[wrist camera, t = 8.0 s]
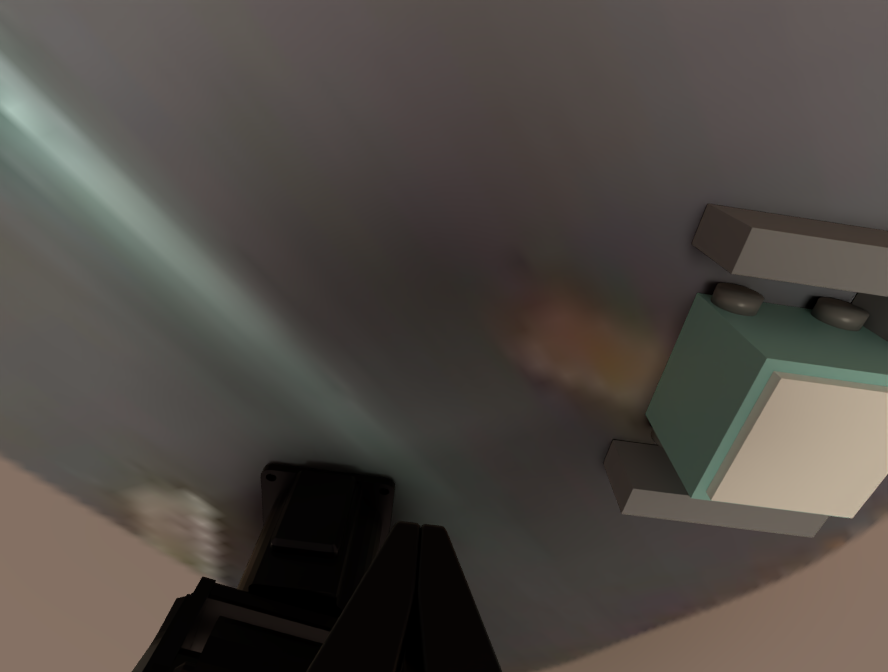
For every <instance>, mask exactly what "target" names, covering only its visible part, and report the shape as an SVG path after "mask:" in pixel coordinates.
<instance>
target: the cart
mask: <svg viewBox="0 0 888 672" xmlns="http://www.w3.org/2000/svg"><path fill="white" fill-rule="evenodd" d="M763 300H764V297H763V296H762V295H761V294H759V293H758V292H756V291H754V290H751V289H749V288H746V287H743V286H740V285H736V284H731V283H718V284H717V286H716V288H715V290H714V293H713V295H709V294H702V293H697V294H696V297H695V299H694V301H693V304H692V306H691V308H690V311H689V313H688V315H687V318H686V320H685V322H684V325H683V327H682V329H681V332H680V334H679V336H678V339H677V341H676V343H675V346H674V348H673V350H672V353H671V355H670V357H669V360H668V362H667V364H666V367H665V369H664V371H663V374H662V376H661V378H660V381H659V383H658V385H657V388H656V390H655V392H654V395H653V397H652V399H651V402H650V404H649V406H648V409H647V411H646V413H645V415H646V416H647V418H648V420H649V422H650V424H651V426H652V428H653V429H652V431H651V437H652V439H653V440H654V442H655V443H656V444H658V445H659V446H660V447H662V448H664V450H665V452H666V453H667V455H668V457H669V459H670V461H671V463H672V465H673V466H674V468H675V470H676V472H677V474H678V476H679V477H680V479H681V481H682V483H683V485H684V487H685V489H686V490H687V492H688V494H689V496H690V498H693V499H701V500H709V501H717V502H725V503H733V504H741V505H749V506H757V507H765V508H773V509H781V510H789V511H797V512H805V513H813V514H821V515H829V516H837V517H845V518H853V517H854V516H855V514H856V513H857V512H858V510H859V509H860V508H861V507H862V505H863V504H864V503H865V502H866V500H867V499H868V498H869V497H870V495H871V494H872V493H873V492H874V490H875V489H876V488H877V487H878V485H879V484H880V483H881V482H882V480H883V479H884V478H885V477H886V475H887V474H888V342H887V341H886V340H884V339H883V338H881V337H879V336H878V335H876V334H875V333H873V332H872V331H870V330H868V329H867V328H865V327H864V326H863V325H864V323H865V321H866V320H867V318H868V317H869V313H868V312H867V311H866V310H864V309H862V308H860V307H858V306H856V305H853V304H851V303H848V302H845V301H842V300H838V299H833V298H827V297H821V298H819V299H818V301H817V303H816V305H815V306H814V308H813V309H806V308H799V307H792V306H785V305H778V304H771V303H764V302H763Z"/></svg>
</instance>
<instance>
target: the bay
mask: <svg viewBox="0 0 888 672" xmlns="http://www.w3.org/2000/svg"><path fill="white" fill-rule="evenodd" d="M692 245H693V246H695V247H696V248H697V249H699V250H700V251H702V252H703V253H704V254H706V255H707V256H708V257H710V258H711V259H712V260H714V261H715V262H716V263H718V264H719V265H720V266H722V267H723V268H724V269H726V270H727V271H728V272H730V273H731V274H737V275H743V276H750V277H757V278H764V279H771V280H777V281H784V282H791V283H798V284H805V285H812V286H818V287H825V288H832V289H839V290H846V291H852V292H858V294H857V296H856V297H855V299H854V301H853V302H852V304H853V305H856V306H858V307H860V308H862V309H864V310H866V311H867V312H868V313H869V317H868V318H867V320H866V321H865V323H864V325H863V326H864V327H865V328H867V329H868V330H870V331H872V332H873V333H875V334H876V335H878V336H879V337H881V338H883V339H884V340H886V341H887V342H888V231H884V230H877V229H871V228H864V227H857V226H851V225H844V224H838V223H831V222H825V221H818V220H812V219H805V218H798V217H792V216H785V215H779V214H772V213H766V212H759V211H753V210H746V209H739V208H733V207H726V206H720V205H713V204H707V207H706V209H705V212H704V214H703V217H702V219H701V222H700V224H699V227H698V229H697V232H696V234H695V237H694V239H693V242H692ZM603 464H604V467H605V470H606V473H607V475H608V478H609V481H610V484H611V486H612V489H613V492H614V494H615V497H616V500H617V503H618V505H619V508H620V511H621V514H627V515H635V516H643V517H651V518H659V519H667V520H675V521H683V522H691V523H699V524H707V525H715V526H724V527H732V528H740V529H748V530H756V531H764V532H772V533H780V534H788V535H796V536H804V537H812V538H813V537H814V536H815V534H816V533H817V532H818V530H819V529H820V528H821V526H822V525H823V524H824V522H825V521H826V520H827V519H828V517H829V515H821V514H813V513H805V512H797V511H789V510H781V509H773V508H765V507H757V506H749V505H741V504H733V503H725V502H717V501H709V500H701V499H693V498H690V496H689V494H688V492H687V490H686V489H685V487H684V485H683V483H682V481H681V479H680V477H679V476H678V474H677V472H676V470H675V468H674V466H673V465H672V463H671V461H670V459H669V457H668V455H667V453H666V452H665V450H664V448H662V447H660V446H657V445H649V444H641V443H634V442H626V441H618V440H613V441H612V443H611V446H610V448H609V451H608V453H607V456H606V458H605V461H604V463H603Z"/></svg>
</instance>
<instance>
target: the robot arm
mask: <svg viewBox="0 0 888 672" xmlns="http://www.w3.org/2000/svg"><path fill="white" fill-rule="evenodd" d="M271 474H274V475H271ZM261 488H262V505H263V522H264V527H263V529H262V532H261V534H260V536H259V539H258V541H257V543H256V546H255V548H254V550H253V553H252V555H251V557H250V560H249V562H248V564H247V567H246V569H245V571H244V573H243V576H242V578H241V580H240V583H239V585H238V587H237V589H235V588H232V587H228V586H225V585H221V584H218V583H215V582H216V580H213V579H210V578H206V577H202V578H201V580H200V582H199V584H198V585H197V587H196V589H195V591H194V592H193V593H192V594H191V595H190V594H187V596H185V597H180V598H177V599H176V600H175V602H174V604H173V606H172V608H171V610H170V612H169V613H168V615H167V617H166V619H165V621H164V623H163V624H162V626H161V628H160V630H159V632H158V633H157V635H156V637H155V639H154V640H153V642H152V643H151V645H150V647H149V648H148V650H147V651H146V652H145V654H144V655H143V657H142V658H141V659H140V661H139V662H138V664H137V665H136V667H135V668H134V669H133V671H132V672H502V670H501V667H500V665H499V662H498V660H497V657H496V654H495V652H494V649H493V647H492V644H491V642H490V639H489V637H488V634H487V632H486V629H485V627H484V624H483V622H482V619H481V616H480V614H479V611H478V609H477V606H476V604H475V601H474V599H473V596H472V594H471V591H470V589H469V586H468V584H467V581H466V579H465V576H464V573H463V571H462V568H461V566H460V563H459V561H458V558H457V556H456V553H455V551H454V548H453V546H452V543H451V541H450V538H449V535H448V533H447V531H446V529H445V528H444V527H443V526H437V525H429V524H424V525H422V526H421V528H420V525H419V524H418V523H413V522H404V521H398V522H397V523H396V524H395V525H394V526H393V528H392V530H391V531H390V523H391V515H392V507H393V499H394V491H395V483H394V482H393V481H392V480H390V479H388V478H381V477H373V476H365V475H357V474H349V473H341V472H333V471H325V470H317V469H309V468H301V467H293V466H285V465H277V464H269V465H266V466H265V467H264V469H263V471H262V473H261ZM383 488H387V489H383ZM389 531H390V533H389Z"/></svg>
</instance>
